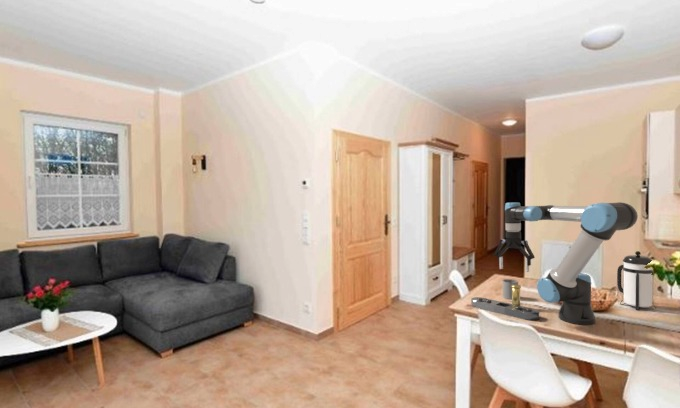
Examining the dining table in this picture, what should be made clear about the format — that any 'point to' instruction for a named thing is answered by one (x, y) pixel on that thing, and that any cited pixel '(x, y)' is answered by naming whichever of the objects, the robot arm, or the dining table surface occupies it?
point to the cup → (508, 288)
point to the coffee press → (636, 281)
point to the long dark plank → (505, 308)
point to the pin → (516, 294)
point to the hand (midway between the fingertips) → (514, 270)
